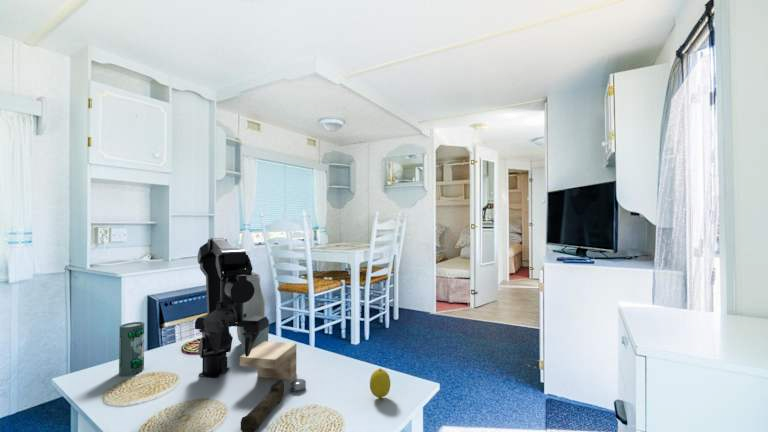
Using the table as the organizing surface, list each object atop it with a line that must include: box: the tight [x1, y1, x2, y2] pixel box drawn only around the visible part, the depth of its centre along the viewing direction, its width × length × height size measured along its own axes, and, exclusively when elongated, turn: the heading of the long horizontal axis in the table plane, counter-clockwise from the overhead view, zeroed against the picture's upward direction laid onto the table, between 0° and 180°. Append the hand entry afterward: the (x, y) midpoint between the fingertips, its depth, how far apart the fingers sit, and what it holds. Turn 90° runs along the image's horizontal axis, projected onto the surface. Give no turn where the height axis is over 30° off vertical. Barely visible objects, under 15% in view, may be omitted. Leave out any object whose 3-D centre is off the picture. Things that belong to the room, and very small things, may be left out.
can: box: [118, 321, 145, 377], centre depth 109 cm, size 6×6×15 cm
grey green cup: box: [240, 318, 270, 356], centre depth 122 cm, size 10×10×12 cm
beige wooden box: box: [239, 340, 297, 381], centre depth 101 cm, size 11×13×10 cm
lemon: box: [369, 368, 391, 400], centre depth 91 cm, size 6×6×8 cm
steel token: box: [289, 378, 307, 394], centre depth 97 cm, size 4×4×2 cm
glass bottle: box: [236, 271, 266, 343], centre depth 134 cm, size 10×10×28 cm
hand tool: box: [240, 379, 285, 432], centre depth 85 cm, size 19×4×5 cm, turn 170°
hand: (231, 354), depth 91 cm, fingers open, 9 cm apart
